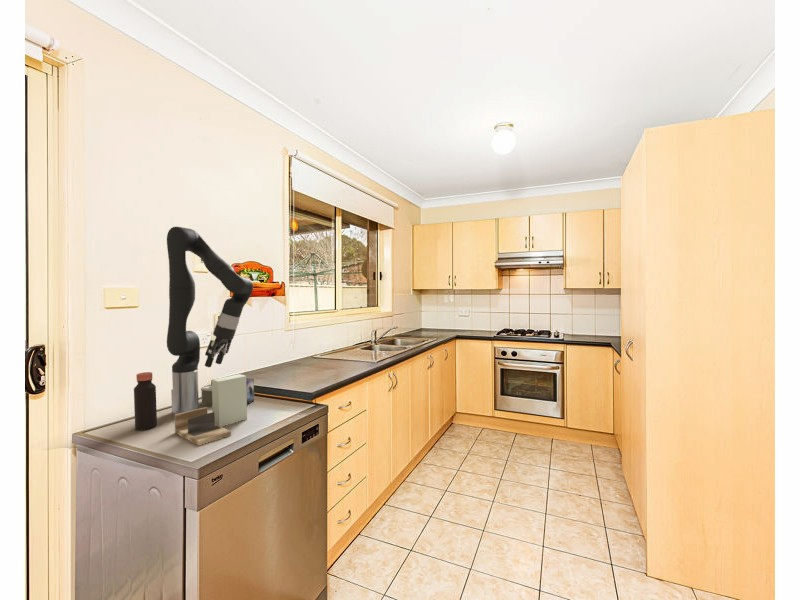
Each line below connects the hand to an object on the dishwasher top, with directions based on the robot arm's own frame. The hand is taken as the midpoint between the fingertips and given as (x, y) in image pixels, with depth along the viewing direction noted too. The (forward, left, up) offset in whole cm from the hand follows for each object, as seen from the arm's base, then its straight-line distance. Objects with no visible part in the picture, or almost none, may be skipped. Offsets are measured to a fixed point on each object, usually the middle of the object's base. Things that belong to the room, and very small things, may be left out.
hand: (212, 365), depth 154 cm
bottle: (-15, -17, -21) cm, 31 cm away
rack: (+10, -13, -21) cm, 27 cm away
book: (+8, 0, -21) cm, 23 cm away
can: (-17, +16, -21) cm, 32 cm away
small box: (-4, +18, -21) cm, 29 cm away
